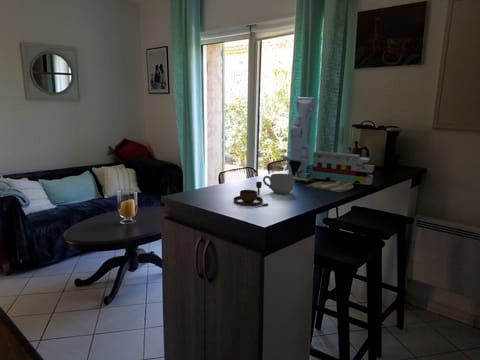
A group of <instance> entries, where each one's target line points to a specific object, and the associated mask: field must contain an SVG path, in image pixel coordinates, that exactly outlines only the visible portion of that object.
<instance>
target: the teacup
mask: <svg viewBox="0 0 480 360" xmlns="http://www.w3.org/2000/svg"><path fill="white" fill-rule="evenodd" d="M266 179H268V180H269V182H270V183H267V182H266ZM262 182H263V184H264V185H265V186H267V187H268V188H269V189H270V190H271V191H272V192H273V193H274V194H276V195H281V194H282V195H284V194H285V195H288V194H290V193H291V192H293V189H294V184H295V183H294V182H295V175H289V174H288V173H273V174H271V175H264V176H263V178H262Z"/></svg>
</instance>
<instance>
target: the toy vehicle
mask: <svg viewBox="0 0 480 360" xmlns="http://www.w3.org/2000/svg"><path fill="white" fill-rule="evenodd" d="M312 155H313V156H312V170H311V177H313V179H320V180H325V181H324V182H336V181H340V182H346V183H353V184H354V186H357V187H361V185H366V186H367V185H369V186H371V184H373V178H374V176H373V175H374V174H371V173H373V172H374V170H375V165H374V164H373V165H372V164H371V165H370V164H364V163H369V162H370V157H361V156H360V155H361V154H355V153H354V154H353V153H344V152H331V151H323V150H322V151H321V150H316V151H314V152H313V154H312ZM369 173H370V174H369Z"/></svg>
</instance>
